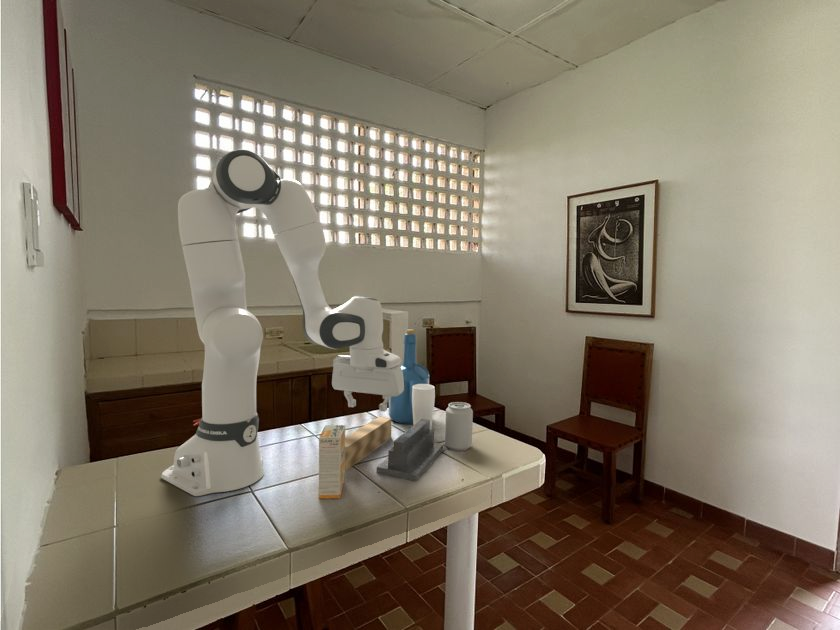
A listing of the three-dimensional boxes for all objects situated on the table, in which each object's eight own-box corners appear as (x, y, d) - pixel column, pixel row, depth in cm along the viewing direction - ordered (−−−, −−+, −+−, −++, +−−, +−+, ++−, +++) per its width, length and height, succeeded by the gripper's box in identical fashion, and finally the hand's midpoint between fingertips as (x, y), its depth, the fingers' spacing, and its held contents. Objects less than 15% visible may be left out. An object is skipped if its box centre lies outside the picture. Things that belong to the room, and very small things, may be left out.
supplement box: (341, 499, 86) (341, 437, 85) (317, 499, 86) (318, 437, 85) (345, 480, 94) (346, 424, 93) (324, 480, 94) (324, 424, 93)
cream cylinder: (422, 430, 128) (424, 382, 126) (438, 436, 123) (439, 387, 121) (406, 435, 123) (407, 385, 122) (421, 442, 118) (423, 390, 117)
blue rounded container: (380, 420, 136) (382, 329, 134) (402, 410, 148) (403, 326, 145) (416, 428, 129) (419, 333, 127) (436, 417, 141) (438, 329, 139)
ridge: (376, 472, 98) (377, 440, 98) (409, 443, 117) (410, 415, 116) (415, 481, 94) (416, 447, 94) (443, 449, 113) (444, 421, 112)
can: (471, 442, 119) (472, 401, 118) (472, 452, 111) (473, 409, 111) (445, 440, 120) (446, 400, 119) (444, 450, 112) (445, 407, 111)
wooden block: (346, 471, 99) (346, 447, 98) (332, 468, 100) (332, 444, 100) (391, 438, 121) (391, 418, 121) (379, 436, 123) (379, 416, 122)
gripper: (326, 356, 110) (327, 407, 111) (396, 362, 102) (396, 416, 104) (339, 352, 116) (340, 401, 117) (406, 358, 108) (406, 409, 109)
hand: (367, 408), depth 110 cm, fingers open, 8 cm apart
